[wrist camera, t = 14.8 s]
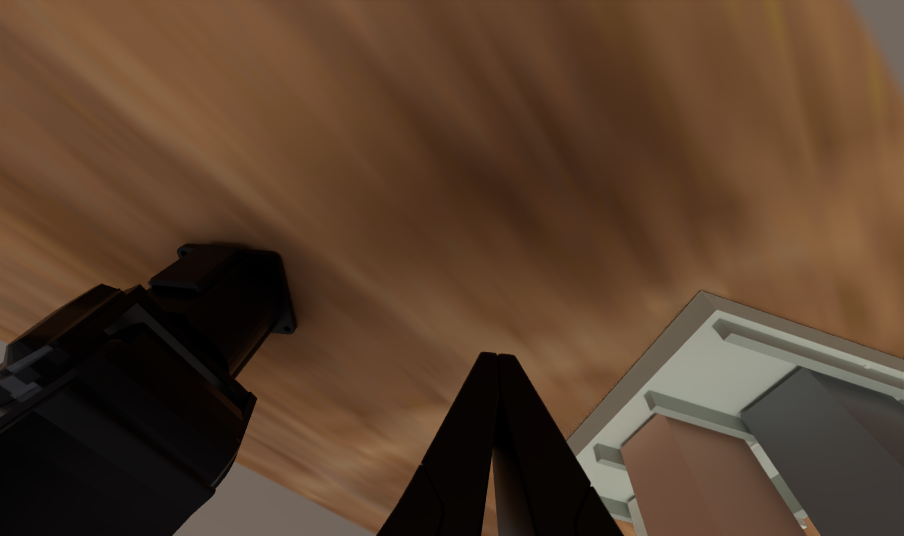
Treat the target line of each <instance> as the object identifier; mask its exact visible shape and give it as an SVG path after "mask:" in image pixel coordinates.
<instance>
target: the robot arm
mask: <svg viewBox="0 0 904 536" xmlns="http://www.w3.org/2000/svg"><path fill="white" fill-rule="evenodd" d="M177 254H178V256H179V260H177V261H176V262H174V263H173V264H172V265H170V266H169V267H167V268H166V269H164V270H163V271H161V272H160V273H158V274H157V275H155V276H154V277H152V278H151V279H150V281H149V282H148V284H149V286H150V288H149V289H147V290H145V289H144V288H143V287H142V286H141V285H140V284H139V285H137V286H134V287H132V288H130V289H127V290H125V291H122V290H121V289H119V288H118V289H116V288H113V287H110V286H107V285H104V284H100V285H98V286H95V287H93V288H92V289H90V290H88V291H87V292H85V293H83V294H82V295H80V296H78V297H77V298H75V299H73V300H72V301H70V302H69V303H67V304H65V305H64V306H62V307H61V308H59V309H57V310H56V311H54V312H53V313H51V314H50V315H48V316H47V317H46V318H44V319H43V320H41V321H40V322H39V323H37V324H36V325H34V326H33V327H32V328H30V329H29V330H28V331H26V332H25V333H23V334H22V335H21V336H19V337H18V338H17V339H15V340H14V341H12V342H11V343H10V344H8V345H7V346H6V351H5V356H4V361H3V362H2V363H1V364H0V536H172V535H173V534H174V533H175V532H176V531H177V530H178V529H179V528H180V527H181V526H182V525H183V523H184V522H185V521H186V520H187V519H188V518H189V517H190V516H191V515H192V514H193V513H194V512H195V511H196V510H198V509H199V508H200V507H201V506H202V505H203V504H204V503H205V502H207V501H208V500H209V499H210V498H211V497H212V496H213V495H214V493H215V491H216V487H217V486H218V485H219V484H220V483H221V481H222V480H223V479H224V478H225V476H226V475H227V473H228V472H229V470H230V468H231V467H232V465H233V463H234V461H235V458H236V456H237V453H238V450H239V448H240V445H241V442H242V439H243V436H244V434H245V431H246V428H247V425H248V423H249V420H250V417H251V414H252V412H253V409H254V406H255V403H256V401H257V397H256V396H255V395H254V394H253V393H251V392H248V391H247V390H246V389H245V388H244V387H243V386H242V385H241V384H240V383H239V382H238V381H236V380H235V378H236V377H237V376H238V374H239V373H240V372H241V370H242V369H243V368H244V367H245V365H246V364H247V363H248V361H249V360H250V359H251V357H252V356H253V355H254V354H255V352H256V351H257V350H258V348H259V347H260V346H261V345H262V343H263V342H264V341H265V339H266V338H267V337H268V335H269V334H270V333H271V332H272V333H281V334H292V333H294V331H295V330H296V328H297V325H296V321H295V317H294V313H293V308H292V304H291V300H290V296H289V292H288V288H287V284H286V280H285V275H284V271H283V267H282V263H281V259H280V257H279V256H278V255H277V254H275V253H273V252H266V251H255V250H244V249H240V248H236V247H226V246H215V245H204V244H202V245H190V244H184V245H183V246H181V247H179V248H178V249H177ZM269 259H271V260H272V261H273V262H271V261H270V260H269ZM491 458H492V462H493V474H494V486H495V498H496V510H497V523H498V535H499V536H624V535H623V533H622V532H621V530H620V528H619V527H618V525H617V524H616V522H615V520H614V519H613V517H612V516H611V514H610V513H609V511H608V509H607V508H606V506H605V505H604V503H603V501H602V500H601V498H600V496H599V495H598V493H597V491H596V489H595V488H594V487H593V486H591V481H590V480H589V478H588V476H587V475H586V473H585V471H584V470H583V468H582V466H581V465H580V463H579V461H578V460H577V458H576V456H575V455H574V453H573V451H572V450H571V448H570V446H569V445H568V443H567V441H566V440H565V438H564V436H563V435H562V433H561V431H560V430H559V428H558V426H557V425H556V423H555V421H554V420H553V418H552V416H551V415H550V413H549V411H548V410H547V408H546V406H545V405H544V403H543V401H542V400H541V398H540V396H539V395H538V393H537V391H536V390H535V388H534V386H533V385H532V383H531V381H530V380H529V378H528V376H527V375H526V373H525V371H524V370H523V368H522V366H521V365H520V363H519V361H518V360H517V358H516V357H515V356H514V355H511V354H498V356H497V354H496V353H492V352H481V353H480V354H479V356H478V358H477V360H476V362H475V364H474V365H473V367H472V369H471V371H470V373H469V375H468V376H467V378H466V380H465V382H464V384H463V386H462V388H461V389H460V391H459V393H458V395H457V397H456V399H455V401H454V402H453V404H452V406H451V408H450V410H449V412H448V413H447V415H446V417H445V419H444V421H443V423H442V425H441V426H440V428H439V430H438V432H437V434H436V436H435V437H434V439H433V441H432V443H431V445H430V447H429V449H428V450H427V452H426V454H425V456H424V458H423V460H422V462H421V465H419V467H418V468H417V470H416V472H415V474H414V476H413V478H412V480H411V481H410V483H409V485H408V486H407V488H406V490H405V492H404V493H403V495H402V497H401V498H400V500H399V502H398V504H397V505H396V507H395V508H394V510H393V511H392V513H391V514H390V516H389V517H388V519H387V520H386V522H385V523H384V525H383V526H382V528H381V529H380V531H379V532H378V534H377V535H376V536H481V532H482V525H483V517H484V510H485V502H486V495H487V488H488V480H489V473H490V466H491ZM590 486H591V487H590Z"/></svg>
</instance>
